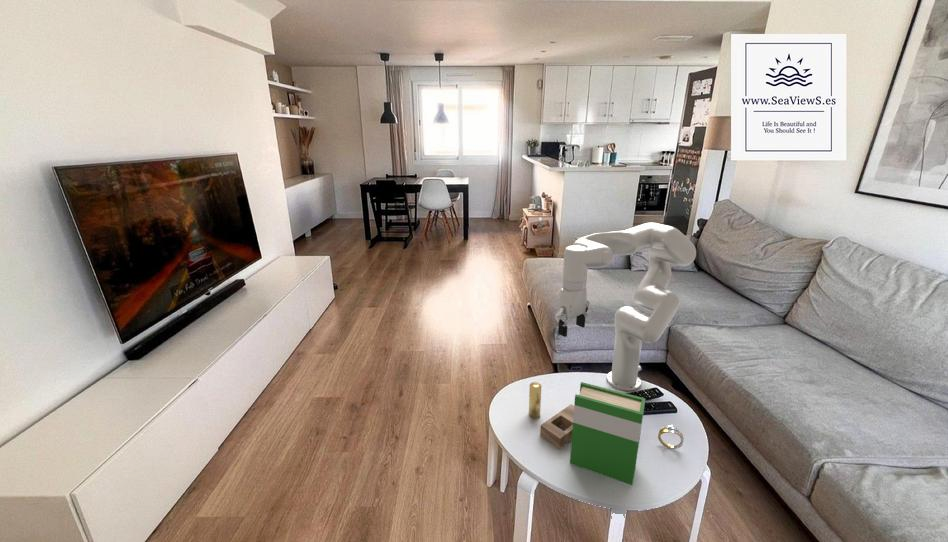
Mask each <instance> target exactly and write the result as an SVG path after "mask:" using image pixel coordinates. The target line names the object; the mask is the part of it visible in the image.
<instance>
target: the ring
mask: <svg viewBox="0 0 948 542" xmlns="http://www.w3.org/2000/svg"><path fill="white" fill-rule="evenodd" d="M667 433H672V434H675V435H678V436H679V438H680V442H679V443H678V444H676V445H671V444H670V443H666V442H665V441H664V440H663V439H662V437H661V436H662V435H664V434H667ZM657 434H658V435H657V439H658V441H659V442H660V443H661V445H663V446H664V447H666V448H667V449H668V450H670V449H671V450H677V449H680V448H681V447H682V446H683V445H684V440H685V439H684V438H685V437H684V436H683V433H682V432H681V431H680V429H678V427H676V425H673V424H671V425H665V426H663V427H661V428H660V429H659V432H658V433H657Z"/></svg>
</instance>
